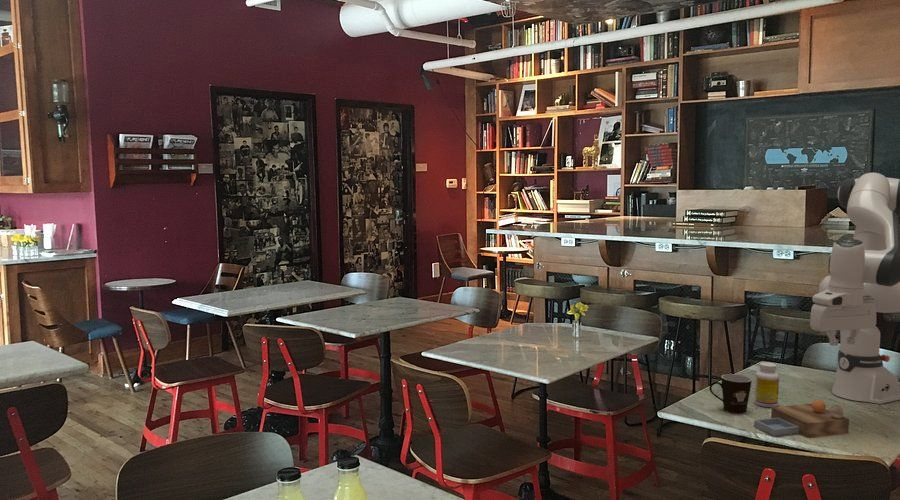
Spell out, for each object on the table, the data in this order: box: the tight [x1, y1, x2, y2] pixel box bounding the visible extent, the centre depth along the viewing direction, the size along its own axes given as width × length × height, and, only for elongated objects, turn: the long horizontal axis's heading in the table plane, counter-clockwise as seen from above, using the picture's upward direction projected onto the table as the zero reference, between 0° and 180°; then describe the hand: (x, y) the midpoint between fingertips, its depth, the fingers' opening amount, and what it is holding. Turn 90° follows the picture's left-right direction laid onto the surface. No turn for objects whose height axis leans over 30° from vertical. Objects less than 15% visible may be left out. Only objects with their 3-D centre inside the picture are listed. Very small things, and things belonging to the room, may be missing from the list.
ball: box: [811, 399, 827, 412], centre depth 208 cm, size 4×4×4 cm
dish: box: [753, 417, 800, 438], centre depth 204 cm, size 8×8×2 cm
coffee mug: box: [709, 373, 753, 415], centre depth 222 cm, size 12×9×10 cm
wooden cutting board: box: [770, 403, 850, 439], centre depth 207 cm, size 14×14×4 cm
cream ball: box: [828, 404, 845, 418], centre depth 203 cm, size 4×4×4 cm
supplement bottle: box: [754, 361, 780, 408], centre depth 227 cm, size 7×7×13 cm
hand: (842, 344), depth 208 cm, fingers open, 5 cm apart
